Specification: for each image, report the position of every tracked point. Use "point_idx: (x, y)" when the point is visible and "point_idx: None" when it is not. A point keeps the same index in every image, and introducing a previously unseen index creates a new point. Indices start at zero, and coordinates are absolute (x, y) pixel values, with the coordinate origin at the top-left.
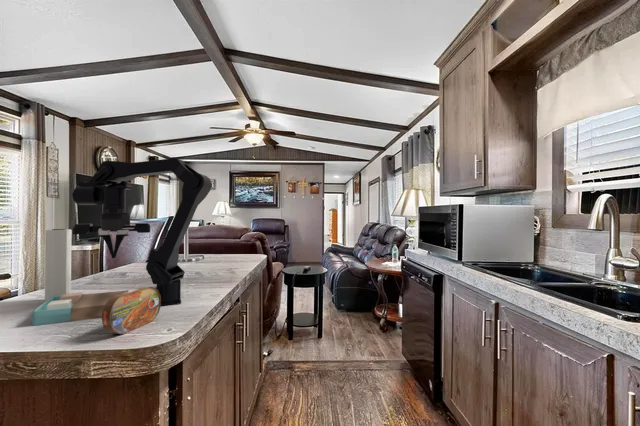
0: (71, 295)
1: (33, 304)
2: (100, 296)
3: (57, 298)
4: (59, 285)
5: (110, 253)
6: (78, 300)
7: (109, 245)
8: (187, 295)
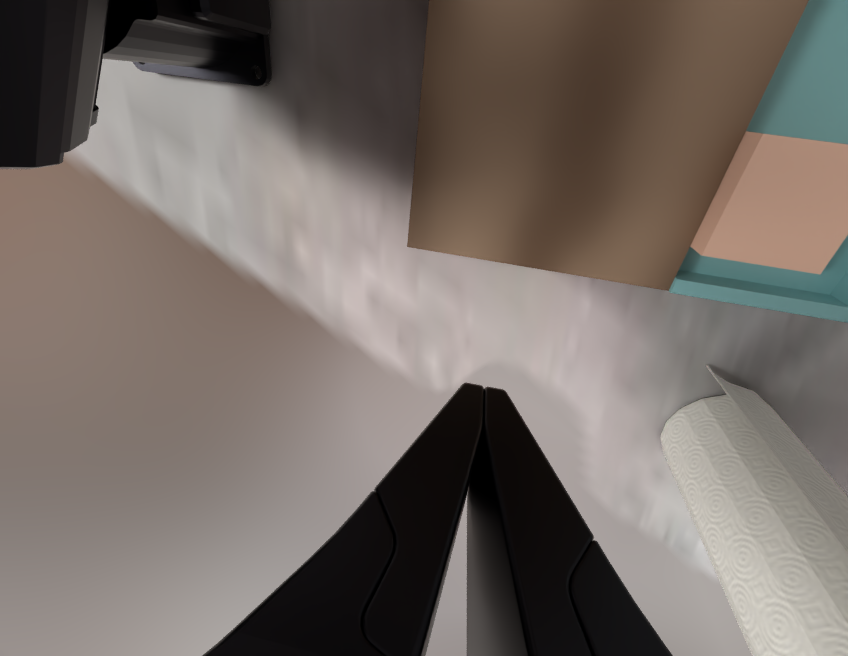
0: (808, 168)
1: (830, 433)
2: (594, 138)
3: (820, 299)
4: (789, 455)
5: (531, 437)
6: (770, 69)
7: (576, 577)
8: (119, 146)
